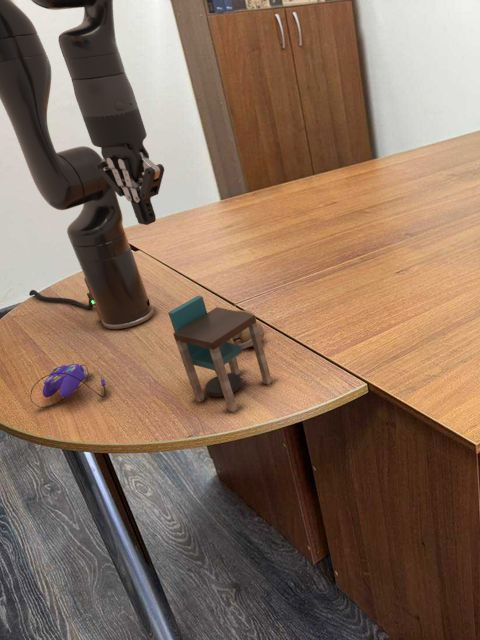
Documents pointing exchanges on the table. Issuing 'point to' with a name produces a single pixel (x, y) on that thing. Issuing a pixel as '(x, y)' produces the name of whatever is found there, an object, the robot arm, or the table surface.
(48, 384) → the game controller
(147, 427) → the table surface
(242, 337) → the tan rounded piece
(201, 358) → the chair
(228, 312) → the desk
